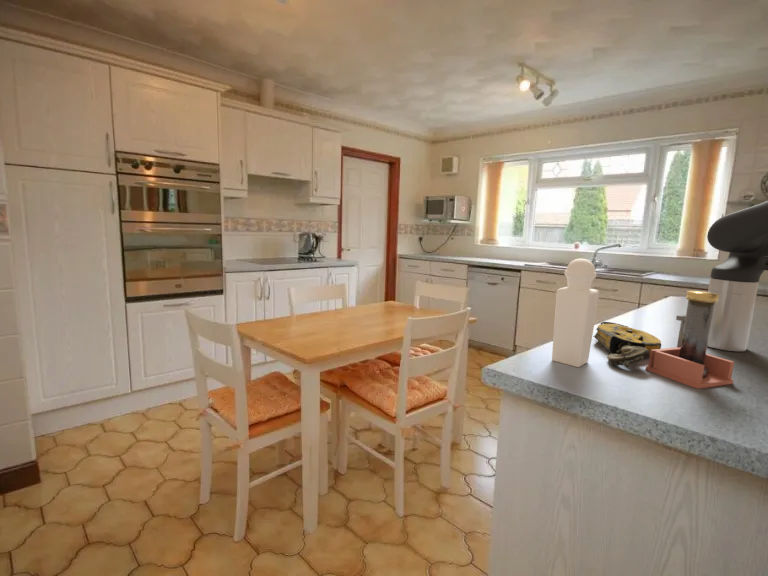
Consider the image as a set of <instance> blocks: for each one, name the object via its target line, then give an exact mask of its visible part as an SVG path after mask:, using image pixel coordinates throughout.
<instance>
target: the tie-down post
mask: <svg viewBox="0 0 768 576" xmlns="http://www.w3.org/2000/svg"><path fill="white" fill-rule="evenodd" d="M685 299H686V300H687V301H688V302H687V306H686V312H685V315H686V318H685V324H684V330H683V335H682V341H681V347H680V353H679V357H680V358H683V359H686V360H689V361H692V362H696V363H699V364H702V365H704V361H705V356H706V354H707V349H708V346H707V345H708V339H709V333H710V328H711V322H712V317H713V311H714V305H715V303H718V299H719V294H716V293H710V292H708V291H701V290H700V291H699V290H687V291H686V297H685ZM708 370H709V369H708V368H707V367H705V366H704V372H703V378H706V377H707V375H708Z"/></svg>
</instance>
